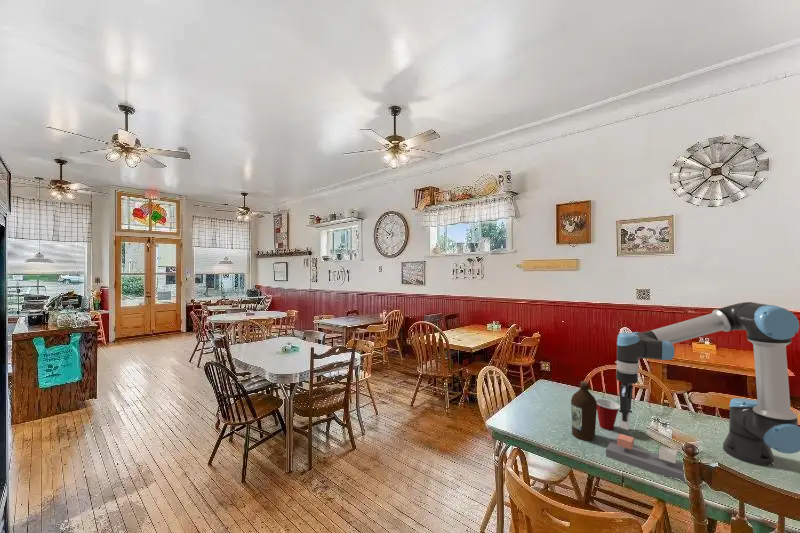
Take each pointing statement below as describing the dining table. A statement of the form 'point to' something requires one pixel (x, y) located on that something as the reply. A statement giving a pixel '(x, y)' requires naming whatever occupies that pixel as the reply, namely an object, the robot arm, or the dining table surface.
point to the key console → (645, 460)
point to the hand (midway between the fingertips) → (624, 428)
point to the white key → (668, 454)
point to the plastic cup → (607, 413)
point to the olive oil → (583, 413)
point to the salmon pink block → (625, 441)
